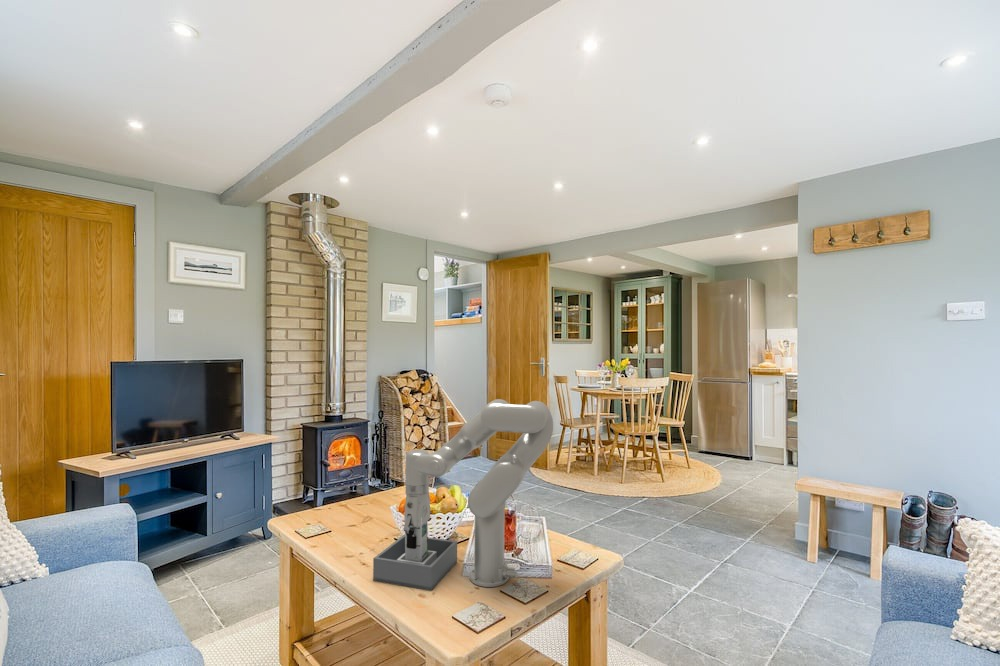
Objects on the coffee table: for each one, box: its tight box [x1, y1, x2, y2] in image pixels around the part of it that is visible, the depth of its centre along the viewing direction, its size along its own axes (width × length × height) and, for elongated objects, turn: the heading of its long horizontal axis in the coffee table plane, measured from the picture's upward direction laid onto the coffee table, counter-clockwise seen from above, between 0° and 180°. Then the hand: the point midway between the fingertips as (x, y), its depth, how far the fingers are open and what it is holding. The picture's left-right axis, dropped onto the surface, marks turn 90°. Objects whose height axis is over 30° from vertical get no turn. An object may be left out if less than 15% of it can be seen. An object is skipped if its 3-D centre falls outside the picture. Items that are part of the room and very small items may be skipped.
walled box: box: [372, 533, 458, 592], centre depth 160 cm, size 20×20×7 cm
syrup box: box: [404, 517, 429, 562], centre depth 160 cm, size 6×6×14 cm
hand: (416, 543), depth 160 cm, fingers closed on syrup box, 6 cm apart
